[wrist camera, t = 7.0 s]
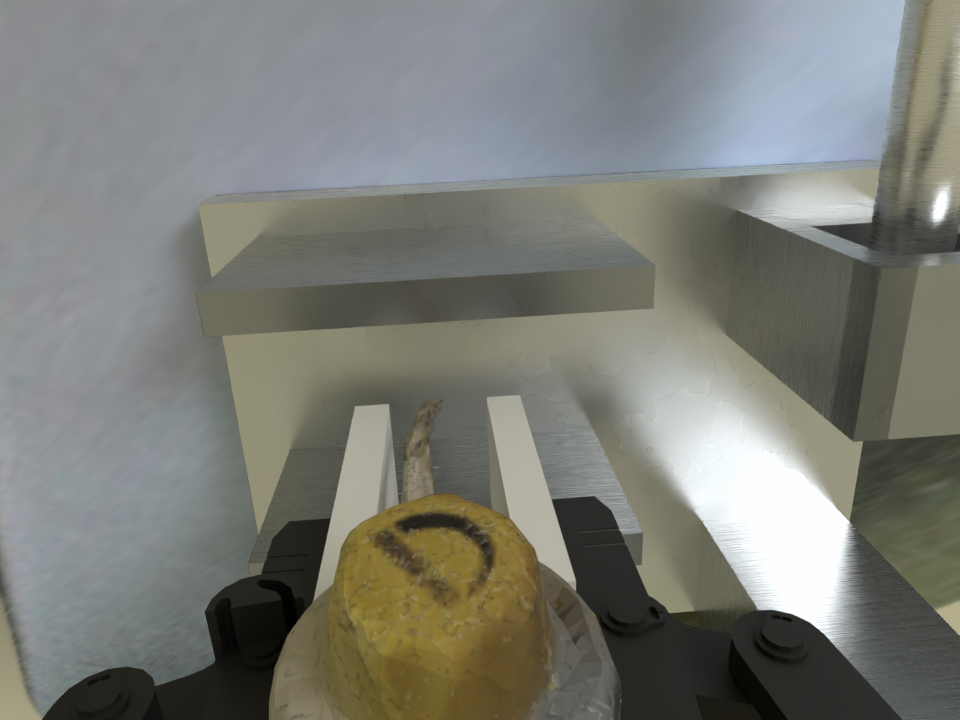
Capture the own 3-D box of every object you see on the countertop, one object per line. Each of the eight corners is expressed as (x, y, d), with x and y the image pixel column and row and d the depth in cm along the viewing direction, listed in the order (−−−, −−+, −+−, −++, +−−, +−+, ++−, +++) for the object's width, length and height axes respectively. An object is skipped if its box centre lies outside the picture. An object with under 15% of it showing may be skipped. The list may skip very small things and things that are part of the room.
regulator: (332, 286, 16) (-103, 1475, 2) (505, 271, 17) (997, 1277, 3) (372, 558, 19) (274, 1833, 5) (519, 542, 19) (797, 1722, 5)
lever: (853, -332, 15) (997, -471, 11) (1040, -334, 15) (1243, -473, 11) (777, 335, 20) (858, 394, 16) (916, 326, 20) (1027, 381, 17)
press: (216, 195, 22) (-803, 746, 4) (870, 160, 23) (2572, 456, 5) (288, 609, 28) (23, 1629, 10) (810, 566, 29) (1483, 1411, 11)
